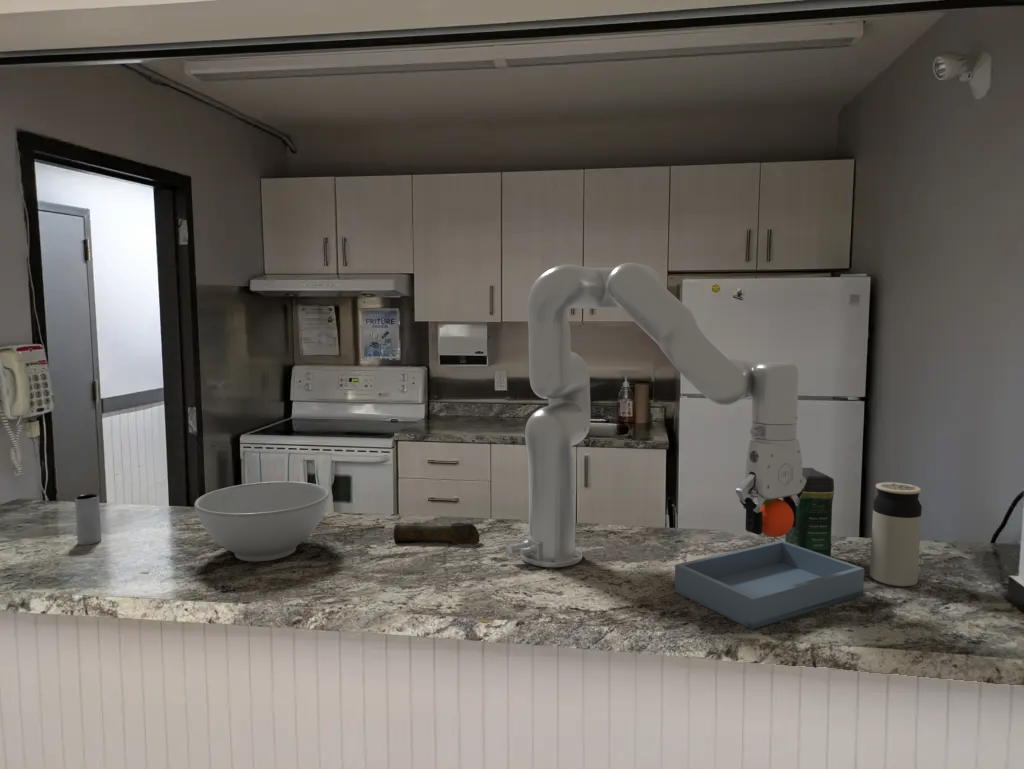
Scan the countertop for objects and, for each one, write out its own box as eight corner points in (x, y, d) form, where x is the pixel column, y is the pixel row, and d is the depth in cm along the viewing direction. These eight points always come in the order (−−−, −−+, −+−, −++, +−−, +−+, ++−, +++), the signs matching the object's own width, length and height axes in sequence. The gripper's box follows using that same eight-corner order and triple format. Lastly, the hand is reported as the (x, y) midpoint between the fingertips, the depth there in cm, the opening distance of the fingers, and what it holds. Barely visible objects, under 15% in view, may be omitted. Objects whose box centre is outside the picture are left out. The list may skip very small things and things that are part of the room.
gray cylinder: (105, 540, 157) (102, 495, 156) (84, 546, 154) (81, 500, 152) (94, 537, 160) (92, 492, 159) (73, 542, 156) (70, 497, 155)
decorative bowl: (326, 527, 167) (325, 477, 166) (335, 565, 142) (334, 506, 140) (203, 539, 158) (201, 486, 157) (189, 581, 133) (186, 519, 132)
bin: (752, 629, 113) (753, 599, 112) (674, 591, 128) (675, 564, 128) (862, 595, 126) (864, 568, 126) (780, 564, 142) (781, 540, 141)
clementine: (770, 545, 121) (771, 505, 120) (739, 534, 127) (740, 496, 127) (801, 538, 125) (803, 499, 124) (770, 527, 131) (772, 490, 130)
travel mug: (922, 589, 129) (927, 493, 127) (874, 585, 131) (879, 490, 129) (911, 574, 136) (916, 483, 135) (866, 570, 139) (870, 480, 137)
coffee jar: (836, 566, 141) (841, 475, 139) (797, 566, 141) (800, 475, 139) (816, 550, 150) (820, 464, 149) (779, 550, 151) (782, 464, 149)
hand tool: (391, 544, 155) (391, 524, 155) (397, 538, 159) (396, 518, 159) (476, 548, 153) (476, 527, 152) (479, 542, 157) (479, 522, 156)
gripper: (755, 439, 117) (752, 542, 119) (824, 430, 125) (821, 526, 127) (721, 433, 123) (719, 530, 125) (789, 425, 132) (786, 516, 133)
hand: (770, 528), depth 126 cm, fingers closed on clementine, 8 cm apart
